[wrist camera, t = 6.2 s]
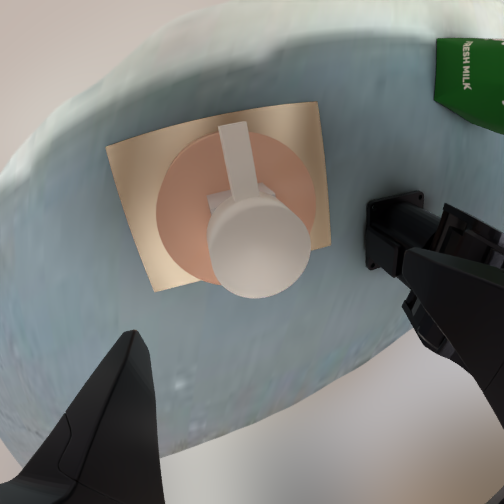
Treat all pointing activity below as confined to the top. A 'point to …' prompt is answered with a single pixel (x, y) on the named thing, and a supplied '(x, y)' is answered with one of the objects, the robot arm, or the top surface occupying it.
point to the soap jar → (223, 195)
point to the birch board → (178, 136)
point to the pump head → (253, 228)
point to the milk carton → (472, 80)
